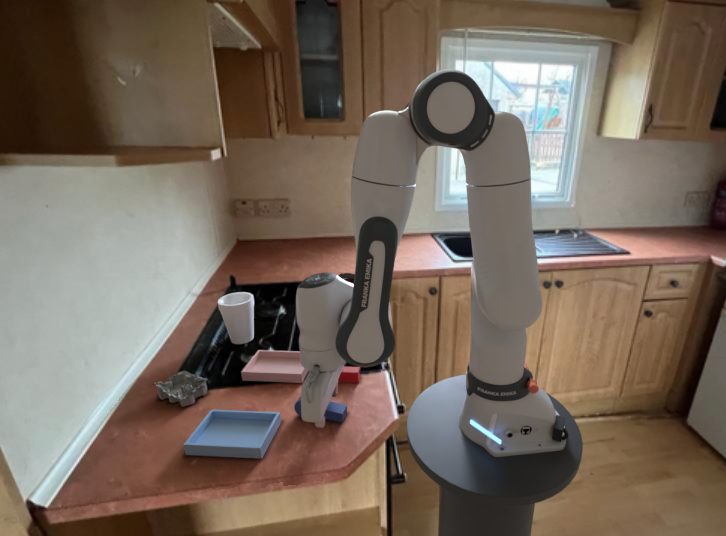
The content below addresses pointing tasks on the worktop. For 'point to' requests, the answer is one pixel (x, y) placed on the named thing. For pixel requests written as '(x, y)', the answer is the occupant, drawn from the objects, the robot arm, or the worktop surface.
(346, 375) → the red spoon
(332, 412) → the dark blue block
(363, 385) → the worktop surface
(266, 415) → the blue tray
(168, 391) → the egg carton
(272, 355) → the rose tray
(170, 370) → the worktop surface
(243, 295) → the foam cup
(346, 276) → the canned food
